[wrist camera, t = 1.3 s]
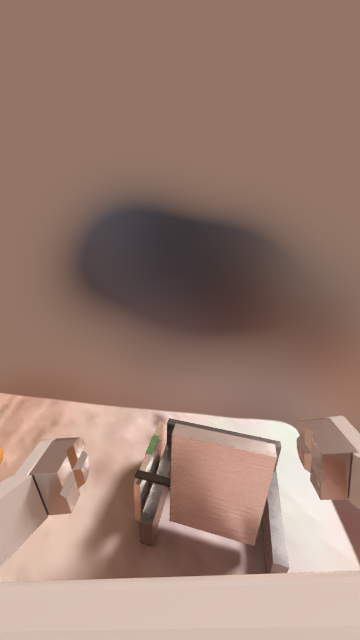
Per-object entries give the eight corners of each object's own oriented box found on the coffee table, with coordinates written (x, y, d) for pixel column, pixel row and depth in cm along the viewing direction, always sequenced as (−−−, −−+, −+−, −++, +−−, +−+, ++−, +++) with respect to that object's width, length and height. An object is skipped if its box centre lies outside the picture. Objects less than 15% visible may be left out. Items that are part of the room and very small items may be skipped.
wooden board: (135, 510, 31) (131, 425, 25) (140, 498, 32) (136, 414, 27) (254, 546, 28) (277, 457, 22) (253, 531, 29) (275, 444, 24)
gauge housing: (127, 537, 30) (124, 494, 27) (158, 453, 40) (158, 416, 37) (281, 588, 26) (297, 544, 23) (270, 480, 37) (280, 441, 34)
